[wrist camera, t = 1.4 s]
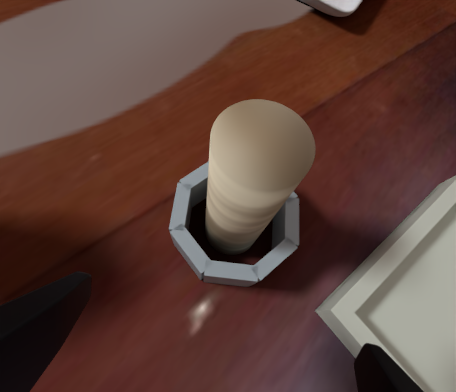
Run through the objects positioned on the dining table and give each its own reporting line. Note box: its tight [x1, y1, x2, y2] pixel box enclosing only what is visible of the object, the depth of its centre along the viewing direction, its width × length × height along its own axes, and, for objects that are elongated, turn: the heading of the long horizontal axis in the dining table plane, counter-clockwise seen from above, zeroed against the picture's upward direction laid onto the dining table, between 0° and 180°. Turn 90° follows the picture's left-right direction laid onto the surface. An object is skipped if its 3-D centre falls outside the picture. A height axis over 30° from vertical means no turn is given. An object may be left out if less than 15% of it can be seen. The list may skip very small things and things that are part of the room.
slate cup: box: [169, 162, 299, 287], centre depth 22 cm, size 9×9×4 cm
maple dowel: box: [205, 99, 315, 255], centre depth 17 cm, size 4×4×13 cm
